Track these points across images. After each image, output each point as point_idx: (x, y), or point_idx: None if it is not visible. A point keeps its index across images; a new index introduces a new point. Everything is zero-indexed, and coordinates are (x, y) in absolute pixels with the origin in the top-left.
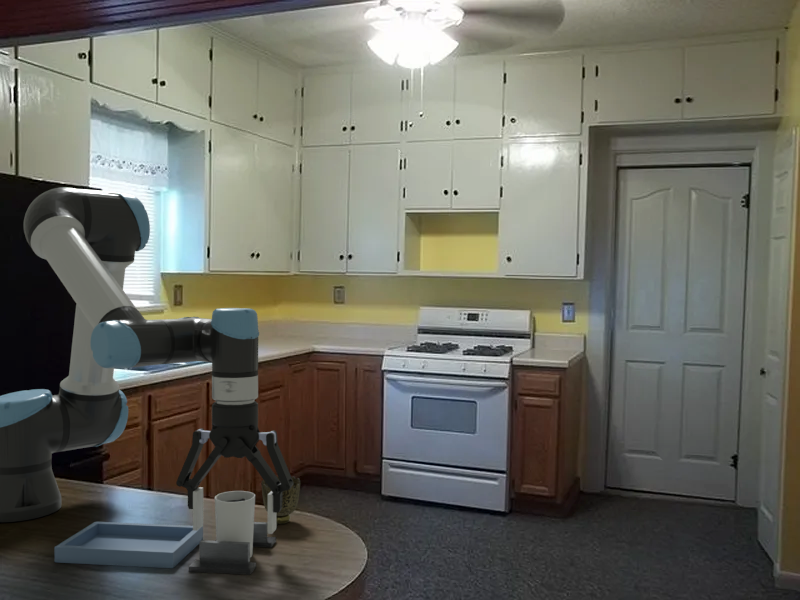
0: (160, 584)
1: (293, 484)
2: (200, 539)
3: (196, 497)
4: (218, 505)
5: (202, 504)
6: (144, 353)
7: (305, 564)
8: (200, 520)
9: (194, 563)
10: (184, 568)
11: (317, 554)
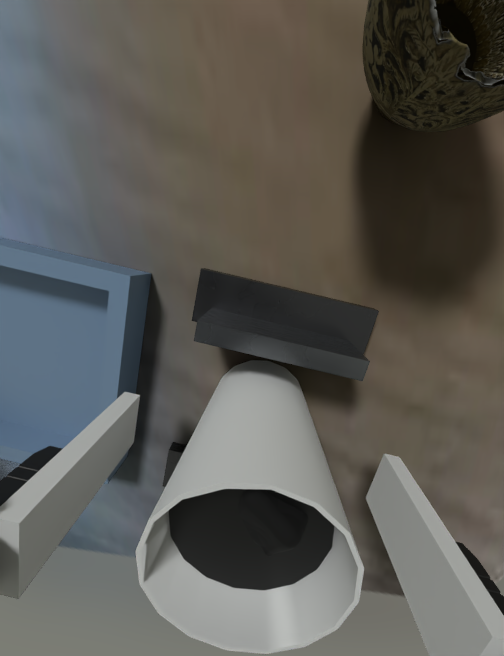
0: (128, 524)
1: None
2: (145, 294)
3: (41, 561)
4: (178, 589)
5: (90, 455)
6: None
7: (434, 474)
8: (123, 435)
9: (171, 472)
10: (153, 458)
11: (479, 418)
